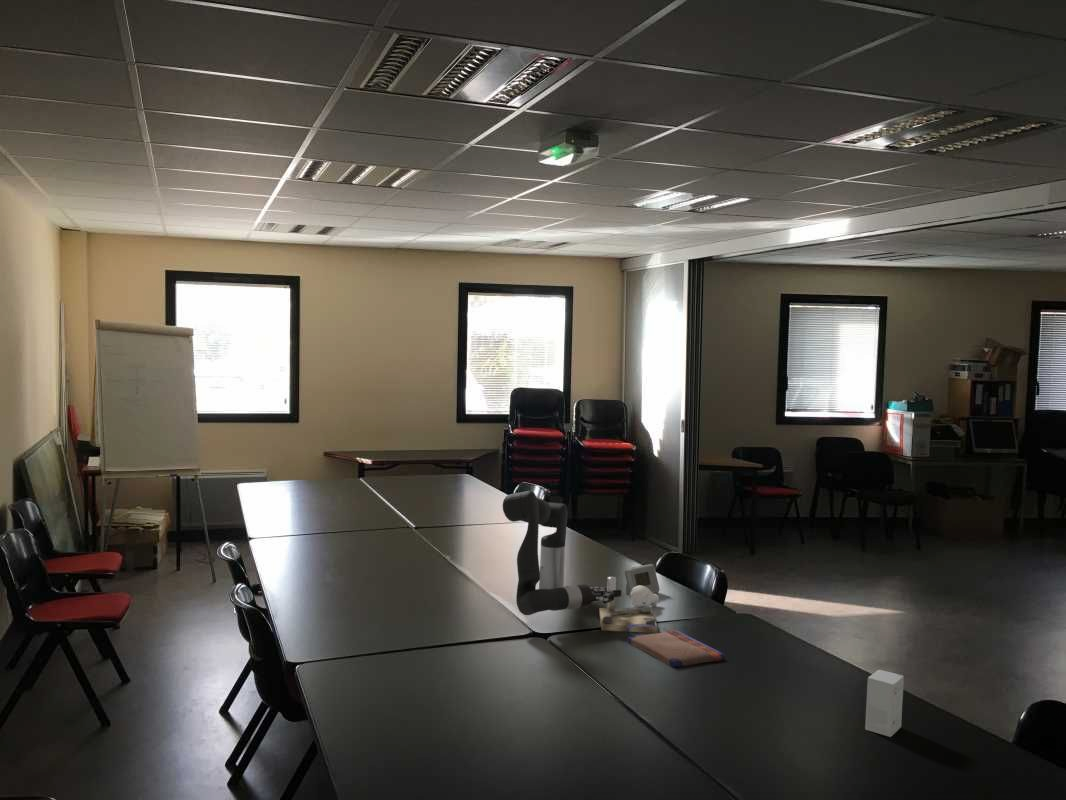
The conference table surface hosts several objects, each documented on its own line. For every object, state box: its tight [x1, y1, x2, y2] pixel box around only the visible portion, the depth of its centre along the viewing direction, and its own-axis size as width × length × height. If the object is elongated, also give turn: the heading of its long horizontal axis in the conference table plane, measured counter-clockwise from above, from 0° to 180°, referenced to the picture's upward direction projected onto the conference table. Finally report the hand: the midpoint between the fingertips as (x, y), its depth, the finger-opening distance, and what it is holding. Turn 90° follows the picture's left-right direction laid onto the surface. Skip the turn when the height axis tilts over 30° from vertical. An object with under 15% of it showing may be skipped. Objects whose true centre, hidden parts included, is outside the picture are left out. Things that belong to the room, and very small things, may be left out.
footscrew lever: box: [605, 576, 652, 615], centre depth 289 cm, size 17×5×12 cm, turn 113°
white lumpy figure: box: [630, 585, 660, 607], centre depth 305 cm, size 6×8×12 cm
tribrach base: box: [598, 607, 658, 634], centre depth 286 cm, size 18×18×4 cm
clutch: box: [626, 624, 726, 668], centre depth 262 cm, size 28×5×19 cm
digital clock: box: [624, 563, 661, 598], centre depth 321 cm, size 16×9×11 cm, turn 121°
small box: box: [864, 669, 905, 738], centre depth 209 cm, size 8×6×13 cm
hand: (617, 591), depth 288 cm, fingers closed on footscrew lever, 3 cm apart
